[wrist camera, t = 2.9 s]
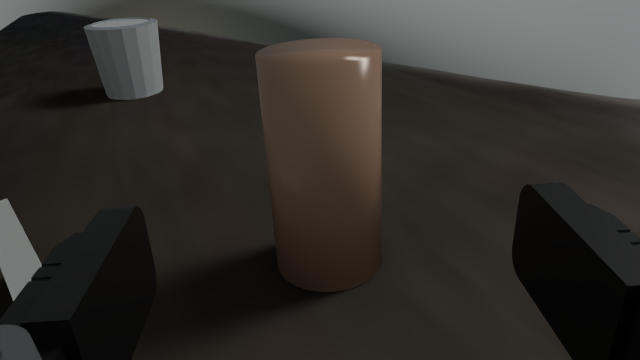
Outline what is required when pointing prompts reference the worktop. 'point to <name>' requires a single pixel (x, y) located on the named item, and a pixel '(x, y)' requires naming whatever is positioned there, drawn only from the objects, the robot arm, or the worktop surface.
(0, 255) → the wall
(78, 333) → the robot arm
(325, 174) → the cylinder
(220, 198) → the worktop surface
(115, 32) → the shot glass
